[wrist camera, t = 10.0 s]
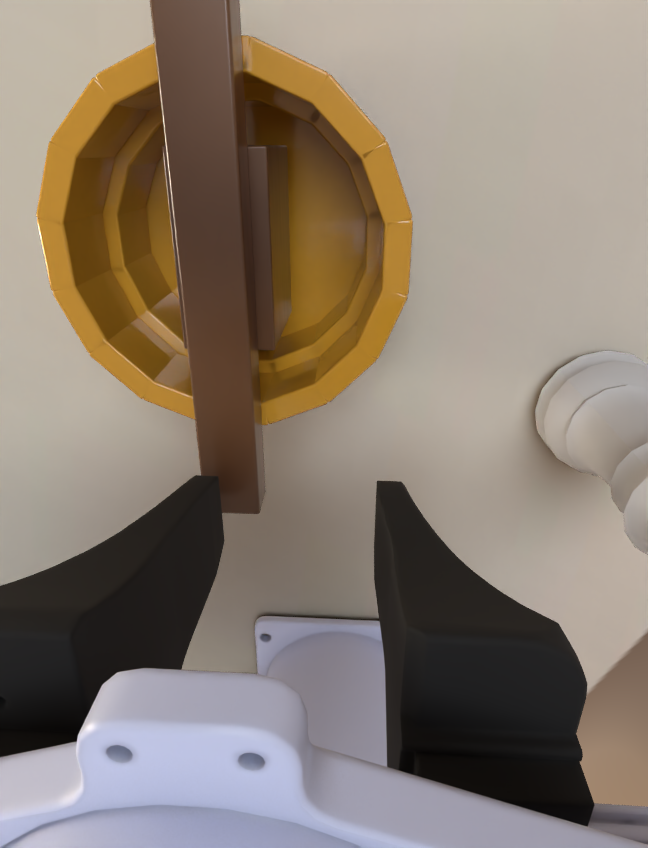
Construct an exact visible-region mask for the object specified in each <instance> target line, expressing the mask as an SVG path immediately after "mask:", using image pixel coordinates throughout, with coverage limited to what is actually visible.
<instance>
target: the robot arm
mask: <svg viewBox="0 0 648 848" xmlns="http://www.w3.org/2000/svg"><path fill="white" fill-rule="evenodd" d="M223 545H224V531H223V520H222V509H221V498H220V488H219V477H218V476H197V475H195V476H194V477H193V478H191V479H190V480H189V481H187V482H186V483H185V484H183V485H182V486H181V487H180V488H178V489H177V490H176V491H175V492H174V493H172V494H171V495H170V496H169V497H167V498H166V499H165V500H163V501H162V502H161V503H160V504H158V505H157V506H156V507H154V508H153V509H152V510H150V511H149V512H148V513H146V514H145V515H143V516H142V517H141V518H139V519H138V520H136V521H135V522H133V523H132V524H131V525H129V526H128V527H126V528H125V529H123V530H122V531H120V532H119V533H117V534H116V535H114V536H112V537H111V538H109V539H107V540H106V541H104V542H102V543H100V544H98V545H97V546H95V547H93V548H91V549H89V550H88V551H86V552H84V553H82V554H79V555H77V556H75V557H73V558H71V559H69V560H67V561H64V562H62V563H60V564H58V565H56V566H54V567H51V568H49V569H46V570H44V571H41V572H39V573H36V574H34V575H31V576H28V577H26V578H23V579H20V580H17V581H14V582H11V583H8V584H5V585H2V586H0V848H648V807H645V806H629V805H612V804H595V803H594V802H593V799H592V796H591V793H590V791H589V788H588V785H587V782H586V779H585V776H584V773H583V771H582V768H581V765H580V762H579V761H581V760H582V757H583V756H582V749H581V746H580V744H579V741H578V738H577V735H576V732H577V729H578V725H579V721H580V717H581V714H582V711H583V707H584V703H585V700H586V693H587V681H586V678H585V675H584V672H583V669H582V666H581V664H580V662H579V659H578V657H577V655H576V653H575V651H574V649H573V648H572V646H571V644H570V642H569V641H568V639H567V637H566V636H565V634H564V632H563V631H562V629H561V627H560V626H559V624H558V623H557V622H555V621H553V620H551V619H549V618H547V617H545V616H543V615H541V614H539V613H537V612H535V611H533V610H531V609H529V608H527V607H525V606H523V605H521V604H520V603H518V602H516V601H515V600H513V599H512V598H510V597H508V596H507V595H505V594H503V593H502V592H500V591H499V590H498V589H496V588H495V587H493V586H492V585H490V584H489V583H488V582H486V581H485V580H484V579H482V578H481V577H480V576H478V575H477V574H476V573H475V572H473V571H472V570H471V569H470V568H469V567H467V566H466V565H465V564H464V563H463V562H462V561H461V560H460V559H459V558H458V557H457V556H456V555H455V554H454V553H453V552H452V551H451V550H450V549H449V548H448V547H447V546H446V544H445V543H444V542H443V541H442V540H441V539H440V538H439V536H438V535H437V534H436V533H435V531H434V530H433V529H432V528H431V526H430V525H429V523H428V522H427V521H426V519H425V518H424V517H423V515H422V514H421V512H420V511H419V509H418V508H417V506H416V505H415V503H414V502H413V500H412V498H411V497H410V495H409V493H408V491H407V489H406V487H405V485H404V484H403V483H402V482H395V481H377V492H376V515H375V538H374V580H375V589H376V597H377V605H378V613H379V620H380V621H370V620H348V619H325V618H302V617H279V616H261V617H259V618H258V619H257V620H256V624H255V642H256V656H257V670H258V674H256V673H236V672H215V671H195V670H181V669H182V665H183V662H184V658H185V655H186V652H187V649H188V647H189V644H190V641H191V638H192V636H193V633H194V631H195V628H196V626H197V623H198V621H199V618H200V616H201V613H202V610H203V608H204V605H205V603H206V600H207V598H208V595H209V593H210V590H211V587H212V585H213V582H214V579H215V577H216V574H217V570H218V566H219V562H220V558H221V554H222V549H223ZM264 634H269V635H268V636H267V635H264Z"/></svg>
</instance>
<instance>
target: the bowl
mask: <svg viewBox="0 0 648 848" xmlns="http://www.w3.org/2000/svg"><path fill="white" fill-rule="evenodd" d="M241 40H242V59H243V78H244V96H245V115H246V134H247V145H286V146H287V160H288V197H289V235H290V273H291V314H290V316H289V318H288V321H287V323H286V325H285V328H284V330H283V332H282V335H281V337H280V339H279V341H278V344H277V346H276V348H275V350H258V359H259V378H260V396H261V415H262V425H268V423H269V424H272V423H275V422H277V421H280V420H283V419H286V418H289V417H291V416H294V415H297V414H300V413H303V412H305V411H308V410H311V409H314V408H317V407H319V406H322V405H325V404H327V403H328V402H331V401H332V400H333V399H334V398H335V397H336V396H337V395H339V394H340V393H341V392H342V391H343V390H344V389H345V388H346V387H347V386H349V385H350V384H351V383H352V382H353V381H354V380H355V379H356V378H358V377H359V376H360V375H361V374H362V373H363V372H364V371H365V370H366V369H368V368H369V367H370V366H371V365H372V364H373V363H374V362H375V361H376V359H378V358H379V356H380V354H381V352H382V350H383V348H384V346H385V344H386V342H387V339H388V337H389V335H390V333H391V331H392V329H393V327H394V325H395V323H396V321H397V319H398V317H399V315H400V313H401V310H402V308H403V306H404V304H405V302H406V300H407V295H408V293H409V278H410V262H411V245H412V229H413V221H412V214H411V211H410V208H409V205H408V202H407V199H406V196H405V193H404V190H403V187H402V184H401V181H400V178H399V175H398V172H397V169H396V166H395V163H394V160H393V157H392V154H391V151H390V148H389V145H388V143H387V141H385V140H386V139H385V137H384V136H383V135H382V133H381V132H380V131H379V130H378V129H377V128H376V126H375V125H374V124H373V123H372V122H371V121H370V119H369V118H368V117H367V116H366V115H365V114H364V113H363V111H362V110H361V109H360V108H359V107H358V106H357V104H356V103H355V102H354V101H353V100H352V99H351V97H350V96H349V95H348V94H347V93H346V92H345V91H344V89H343V88H342V87H341V86H340V85H339V84H338V82H337V81H336V80H335V79H334V78H333V77H332V75H330V74H328V73H327V72H326V71H324V70H322V69H320V68H318V67H316V66H314V65H312V64H309V63H307V62H305V61H303V60H301V59H299V58H297V57H295V56H293V55H290V54H288V53H286V52H284V51H282V50H280V49H278V48H276V47H274V46H271V45H269V44H267V43H265V42H263V41H261V40H259V39H257V38H255V37H249V36H247V35H241ZM164 145H165V136H164V127H163V118H162V109H161V99H160V90H159V81H158V72H157V62H156V53H155V44H154V43H153V44H151V45H149V46H147V47H145V48H144V49H142V50H140V51H138V52H136V53H134V54H133V55H131V56H129V57H127V58H125V59H123V60H122V61H120V62H118V63H116V64H114V65H112V66H110V67H109V68H107V69H105V70H103V71H101V72H99V73H98V74H97V75H96V77H94V78H92V80H91V81H90V83H89V84H88V85H87V87H86V88H85V90H84V91H83V93H82V94H81V96H80V97H79V99H78V100H77V102H76V103H75V104H74V106H73V107H72V109H71V110H70V112H69V113H68V115H67V116H66V118H65V119H64V120H63V122H62V123H61V125H60V126H59V128H58V129H57V131H56V132H55V134H54V135H53V136H52V138H51V141H50V142H49V145H48V150H47V156H46V162H45V167H44V173H43V179H42V184H41V190H40V196H39V202H38V207H37V213H36V217H37V224H38V228H39V233H40V238H41V243H42V248H43V253H44V258H45V263H46V267H47V272H48V277H49V282H50V287H51V290H52V291H53V295H54V297H55V298H56V300H57V302H58V303H59V305H60V307H61V308H62V310H63V312H64V313H65V315H66V317H67V318H68V320H69V322H70V323H71V325H72V327H73V328H74V330H75V331H76V333H77V335H78V336H79V338H80V340H81V341H82V343H83V345H84V346H85V348H86V350H87V351H88V352H89V353H90V356H91V357H92V358H94V359H95V360H96V361H97V362H98V363H99V364H101V365H102V366H103V367H104V368H105V369H107V370H108V371H109V372H110V373H111V374H113V375H114V376H115V377H116V378H117V379H118V380H120V381H121V382H122V383H123V384H124V385H126V386H127V387H128V388H129V389H130V390H131V391H133V392H134V393H135V394H136V395H137V396H139V397H140V398H141V399H143V398H144V400H146V401H148V402H151V403H154V404H156V405H159V406H161V407H164V408H166V409H169V410H172V411H174V412H177V413H179V414H182V415H184V416H187V417H190V418H192V419H195V414H194V404H193V395H192V386H191V377H190V367H189V358H188V349H185V347H184V340H183V331H182V322H181V313H180V304H179V295H178V286H177V277H176V268H175V259H174V250H173V241H172V232H171V222H170V213H169V204H168V195H167V186H166V177H165V168H164V159H163V150H162V147H163V146H164Z"/></svg>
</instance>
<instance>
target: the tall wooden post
mask: <svg viewBox="0 0 648 848" xmlns="http://www.w3.org/2000/svg"><path fill="white" fill-rule="evenodd" d="M150 7H151V16H152V25H153V35H154V44H155V53H156V62H157V72H158V81H159V90H160V99H161V109H162V118H163V127H164V136H165V145H164V146H163V147H162V150H163V159H164V168H165V177H166V186H167V195H168V204H169V213H170V222H171V232H172V241H173V250H174V259H175V268H176V277H177V286H178V295H179V304H180V313H181V322H182V331H183V340H184V347H185V349H188V358H189V367H190V377H191V386H192V395H193V404H194V414H195V423H196V432H197V441H198V451H199V460H200V469H201V476H218V477H219V488H220V498H221V509H222V513H243V514H259V513H260V510H261V506H262V503H263V499H264V496H265V492H266V490H265V471H264V452H263V434H262V415H261V396H260V378H259V359H258V350H275V348H276V346H277V344H278V341H279V339H280V337H281V335H282V332H283V330H284V328H285V325H286V323H287V321H288V318H289V316H290V314H291V273H290V235H289V197H288V160H287V146H286V145H247V134H246V115H245V96H244V78H243V59H242V40H241V22H240V3H239V0H150Z"/></svg>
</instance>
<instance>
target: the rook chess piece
mask: <svg viewBox="0 0 648 848" xmlns="http://www.w3.org/2000/svg"><path fill="white" fill-rule="evenodd" d="M535 415H536V424H537V432H538V433H539V435H540V436H541V438H542V439H543V441H544V442H545V444H546V445H547V446H548V448H549V449H551V450H552V451H553V453H554V454H555V456H556V457H557V459H559V460H561V461H562V462H564V463H566V464H567V465H569V466H571V467H573V468H574V469H576V470H578V471H579V472H582V473H589V474H591V475H595V476H600V477H601V478H602V479H603V480H604V481H605V482H606V483H607V484H608V485H610V486H611V495H612V499H613V501H614V502H615V504H616V505H617V507H618V509H619V510H620V511H621V512H623V513H624V530H625V533H626V534H627V536H628V537H629V539H630V541H631V542H632V544H633V545H634V547H635V548H637V549H639V550H640V551H642V552H644V553H646V554H647V555H648V364H647V363H645V362H644V361H642V360H641V359H639V358H638V357H636V356H634V355H633V354H629V353H623V352H616V351H609V350H605V351H601V352H596V353H592V354H587V355H582V356H580V357H578V358H576V359H575V360H573V361H572V362H570V363H568V364H567V365H565V366H563V367H562V368H560V369H558V370H557V372H556V373H555V374H554V375H553V376H552V378H551V379H550V380H549V381H548V382H547V384H546V385H545V386H544V387H543V388H542V391H541V394H540V397H539V400H538V403H537V406H536V409H535Z"/></svg>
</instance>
